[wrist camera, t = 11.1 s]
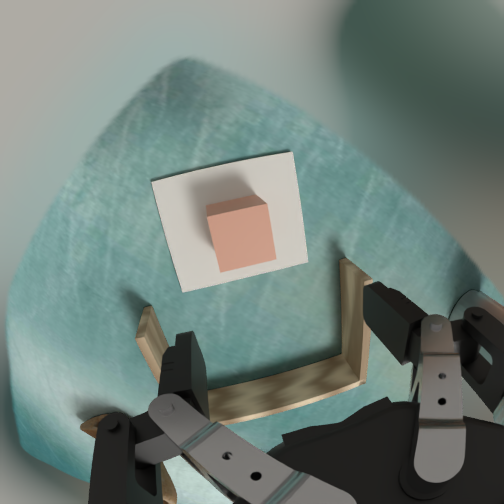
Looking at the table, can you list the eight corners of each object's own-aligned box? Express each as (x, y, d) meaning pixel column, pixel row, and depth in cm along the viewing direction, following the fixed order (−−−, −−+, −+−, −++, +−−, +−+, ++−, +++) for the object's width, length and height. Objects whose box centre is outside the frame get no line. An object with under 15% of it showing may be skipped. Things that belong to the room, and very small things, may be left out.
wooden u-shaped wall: (346, 257, 33) (372, 278, 27) (347, 356, 39) (365, 383, 33) (144, 307, 30) (135, 338, 25) (186, 398, 36) (187, 431, 31)
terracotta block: (256, 194, 28) (267, 203, 23) (264, 241, 30) (276, 259, 25) (205, 205, 27) (206, 216, 23) (216, 252, 29) (220, 272, 25)
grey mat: (291, 151, 28) (292, 151, 27) (306, 260, 32) (308, 262, 31) (152, 181, 26) (151, 182, 26) (182, 290, 31) (182, 292, 30)
